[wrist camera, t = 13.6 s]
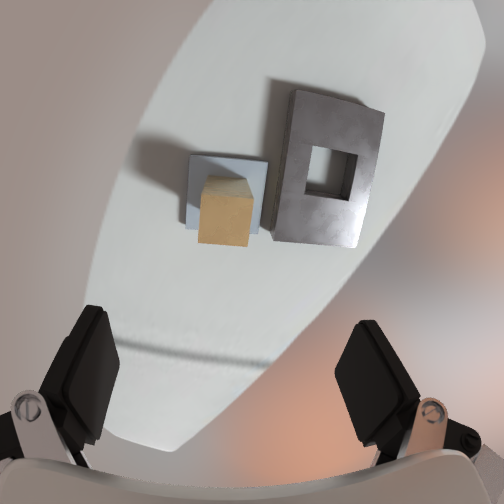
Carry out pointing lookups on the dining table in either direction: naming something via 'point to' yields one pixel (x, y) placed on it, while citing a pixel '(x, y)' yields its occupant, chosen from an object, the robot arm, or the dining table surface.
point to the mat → (228, 168)
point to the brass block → (225, 211)
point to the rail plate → (297, 165)
